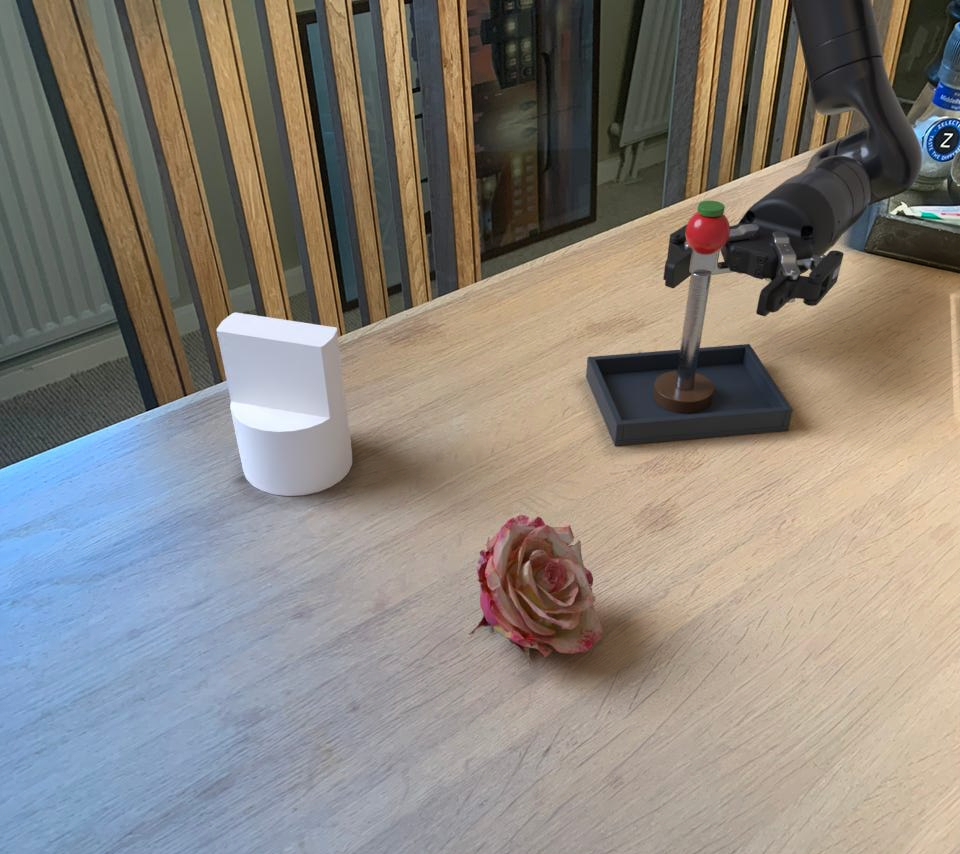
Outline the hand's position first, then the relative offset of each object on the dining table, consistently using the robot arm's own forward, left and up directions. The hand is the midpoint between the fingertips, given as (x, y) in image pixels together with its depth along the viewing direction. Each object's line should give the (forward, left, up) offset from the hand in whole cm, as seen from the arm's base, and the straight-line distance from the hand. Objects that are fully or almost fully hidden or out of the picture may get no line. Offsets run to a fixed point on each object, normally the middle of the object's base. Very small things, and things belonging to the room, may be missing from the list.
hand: (714, 290), depth 85 cm
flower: (+20, +28, -10) cm, 36 cm away
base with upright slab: (+36, +5, -10) cm, 38 cm away
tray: (+2, +1, -10) cm, 10 cm away
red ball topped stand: (+2, +1, -9) cm, 9 cm away
